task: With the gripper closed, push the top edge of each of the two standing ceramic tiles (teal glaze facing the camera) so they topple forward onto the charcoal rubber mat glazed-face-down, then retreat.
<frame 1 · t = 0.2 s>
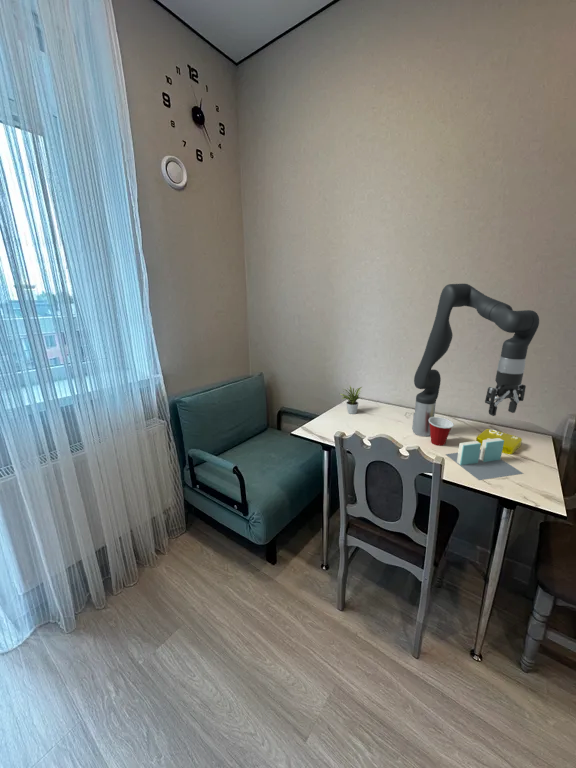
hand: (501, 413, 114), 28 cm above the table, fingers open, 8 cm apart
mat: (481, 464, 134), on the table
plastic cup: (438, 444, 151), on the table
tile b: (489, 459, 136), point 1 cm above the table, touching mat
element tile: (497, 446, 149), on the table
house plant: (352, 412, 192), on the table
tile a: (467, 462, 134), point 1 cm above the table, touching mat
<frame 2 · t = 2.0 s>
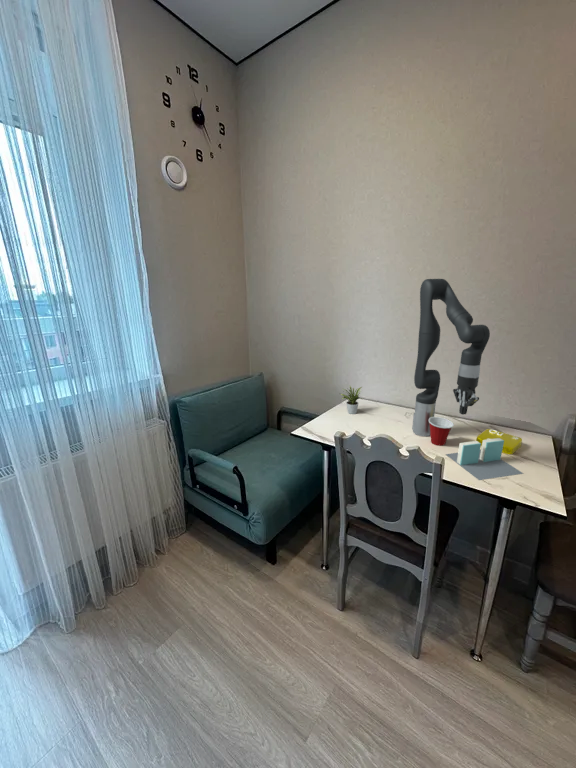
hand: (462, 413, 134), 20 cm above the table, fingers closed
nothing on the table moved.
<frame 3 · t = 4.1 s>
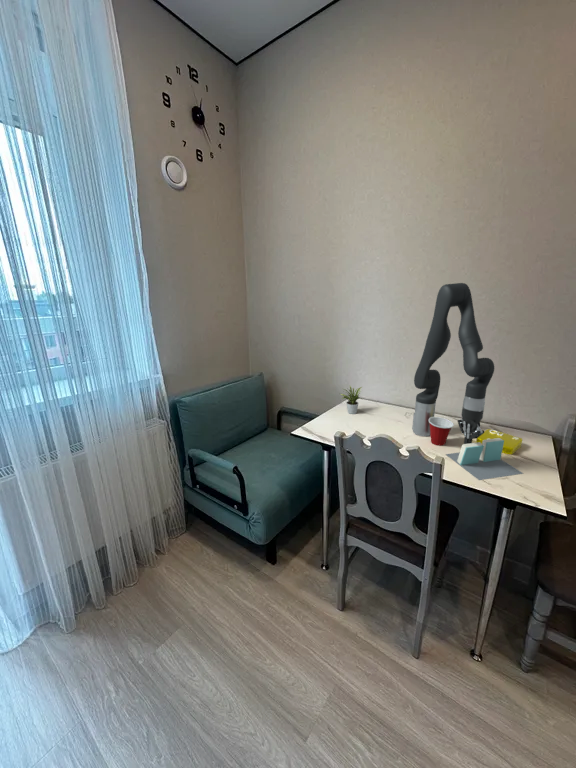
hand: (467, 445, 133), 8 cm above the table, fingers closed
tile a: (467, 461, 134), point 1 cm above the table, tilted 11°, touching mat
everything else where it was.
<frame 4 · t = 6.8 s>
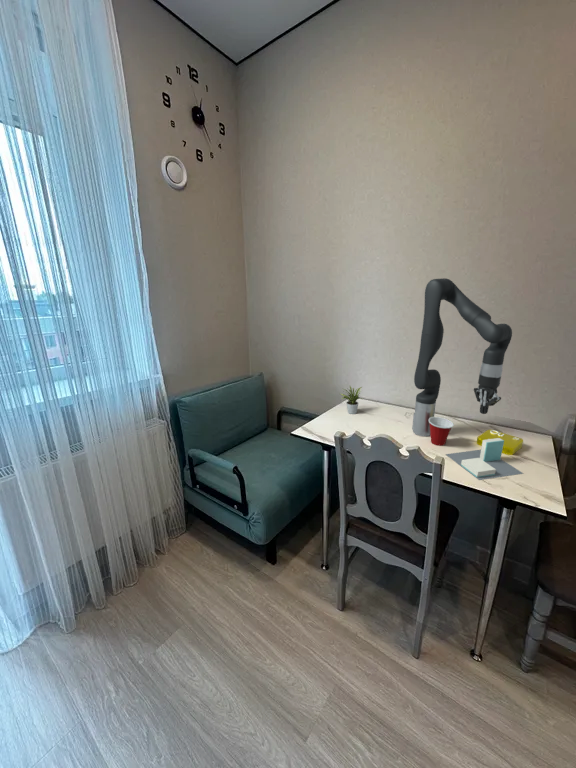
hand: (483, 413, 134), 21 cm above the table, fingers closed
tile a: (469, 461, 133), point 2 cm above the table, tilted 90°, touching mat
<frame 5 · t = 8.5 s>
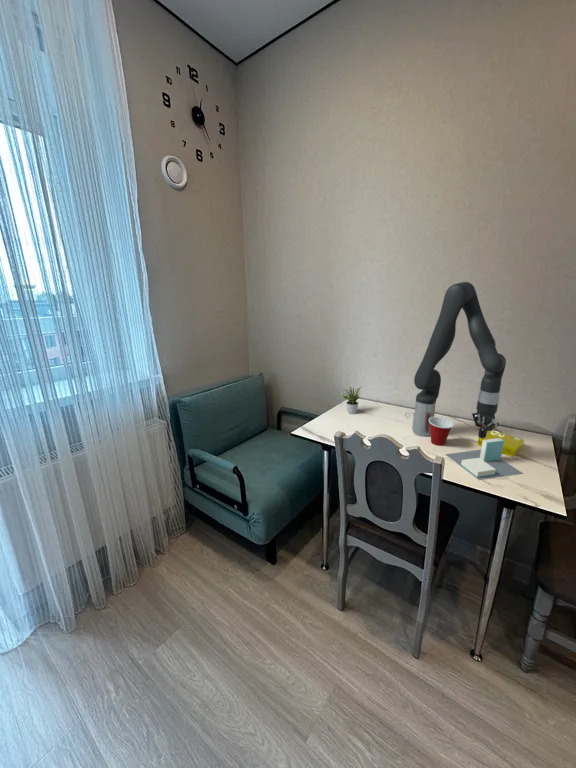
hand: (481, 437, 140), 8 cm above the table, fingers closed
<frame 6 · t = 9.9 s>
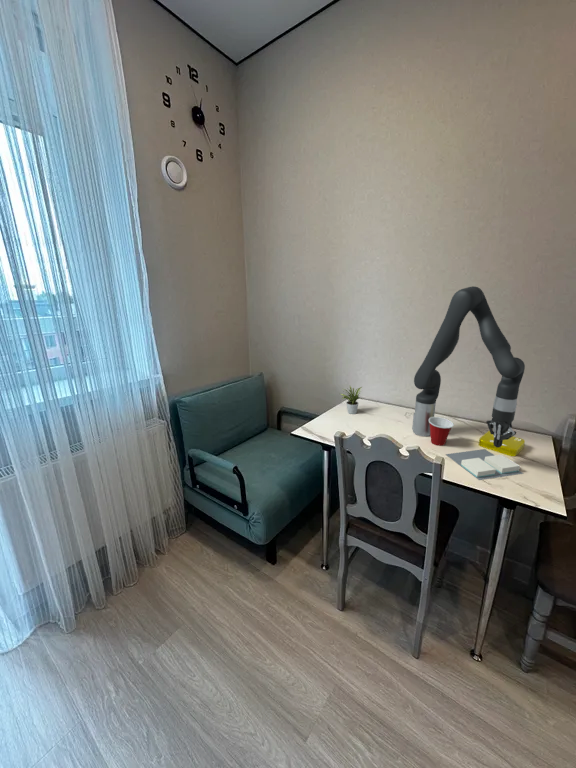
hand: (497, 446, 132), 8 cm above the table, fingers closed
tile b: (492, 458, 135), point 2 cm above the table, tilted 90°, touching mat
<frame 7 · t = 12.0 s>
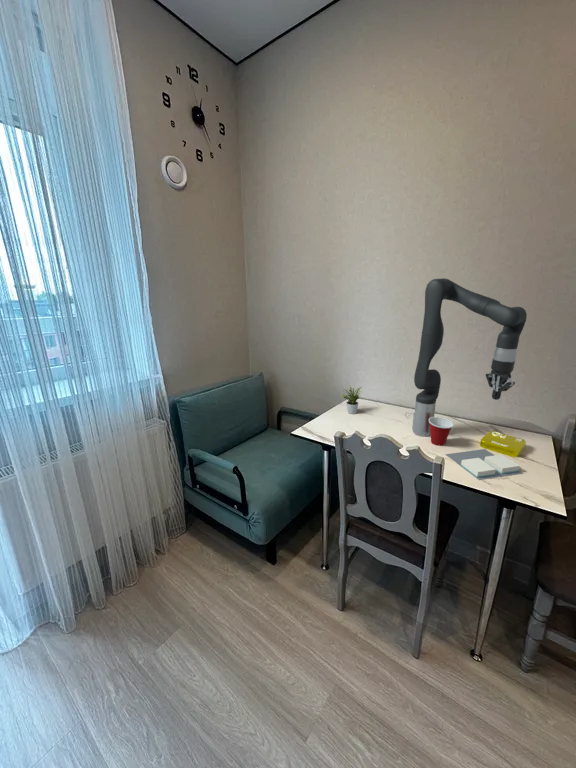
hand: (495, 398, 132), 27 cm above the table, fingers closed
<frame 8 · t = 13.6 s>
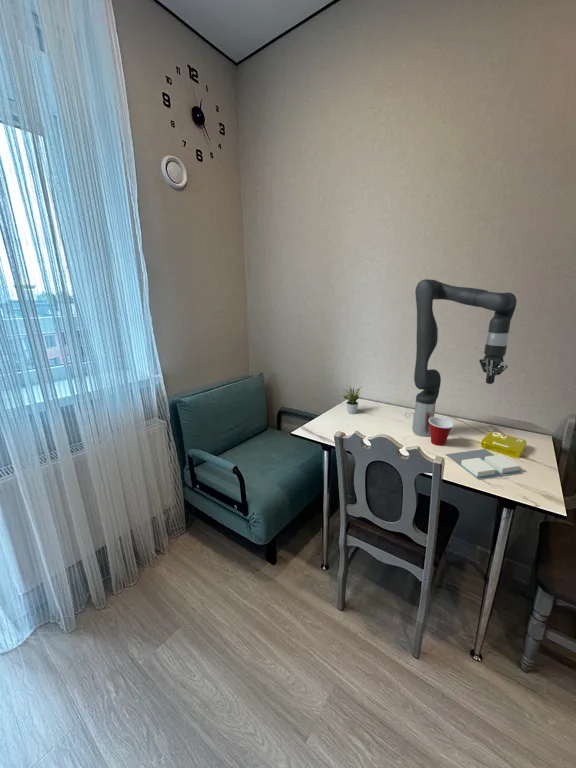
hand: (489, 383, 135), 32 cm above the table, fingers closed
at the end: tile a tilted 90°; tile b tilted 90°; tile a inside the target area on the mat (5.8 cm from its centre), point 2.0 cm above the mat's base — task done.
